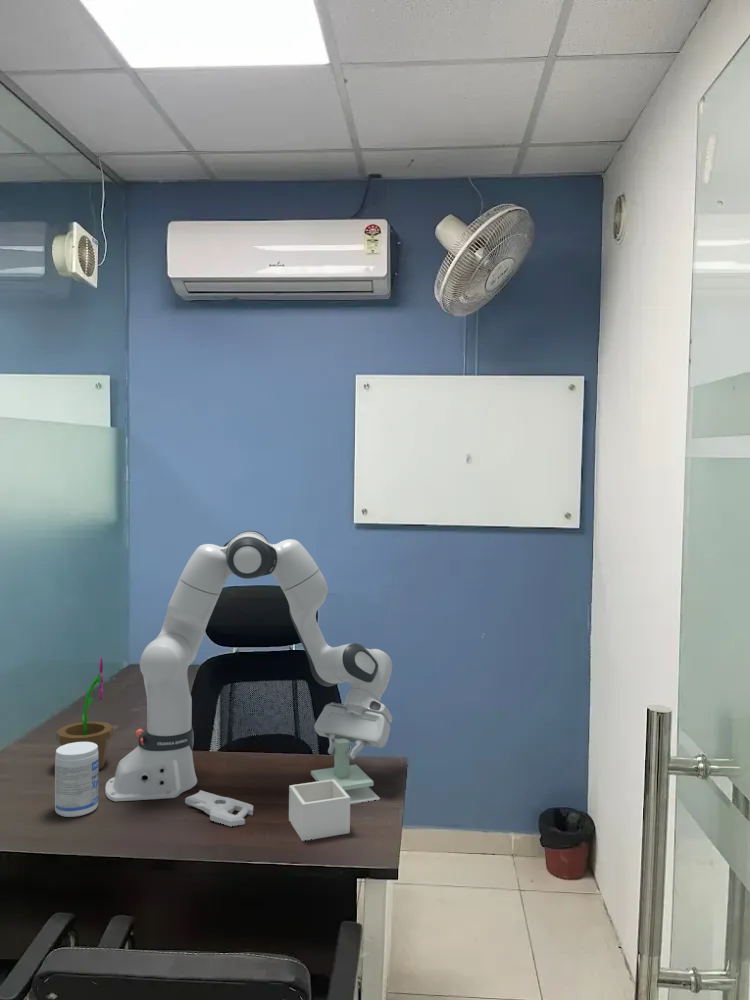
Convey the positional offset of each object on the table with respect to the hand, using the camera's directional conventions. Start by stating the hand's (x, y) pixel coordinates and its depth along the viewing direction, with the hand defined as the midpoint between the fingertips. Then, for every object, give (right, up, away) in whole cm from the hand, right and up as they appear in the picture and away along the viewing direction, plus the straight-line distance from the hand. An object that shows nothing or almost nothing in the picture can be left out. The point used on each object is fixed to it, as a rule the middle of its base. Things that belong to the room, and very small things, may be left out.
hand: (340, 755), depth 185 cm
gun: (-28, -10, -12) cm, 32 cm away
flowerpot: (-71, -8, +15) cm, 73 cm away
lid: (0, -7, +1) cm, 7 cm away
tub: (-4, -10, -18) cm, 21 cm away
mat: (0, -9, +1) cm, 9 cm away
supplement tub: (-62, -9, -12) cm, 64 cm away
